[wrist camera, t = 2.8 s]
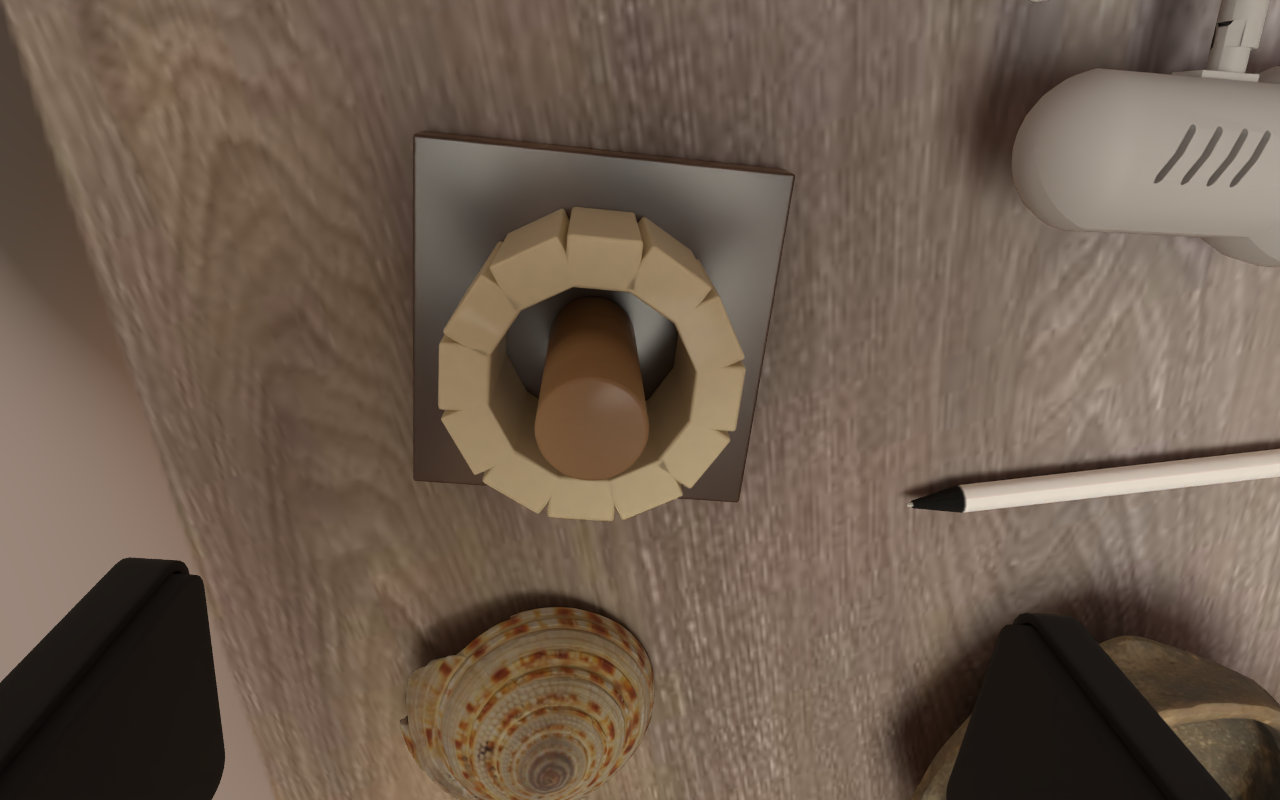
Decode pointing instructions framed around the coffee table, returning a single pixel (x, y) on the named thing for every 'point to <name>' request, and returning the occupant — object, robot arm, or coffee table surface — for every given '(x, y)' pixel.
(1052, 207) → the clip-on lamp
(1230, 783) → the bowl
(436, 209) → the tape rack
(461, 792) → the seashell
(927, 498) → the pen
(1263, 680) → the coffee table surface
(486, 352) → the segmented block ring
